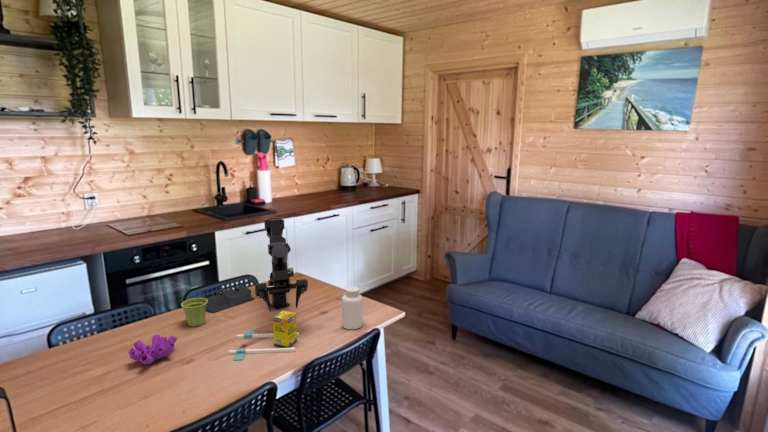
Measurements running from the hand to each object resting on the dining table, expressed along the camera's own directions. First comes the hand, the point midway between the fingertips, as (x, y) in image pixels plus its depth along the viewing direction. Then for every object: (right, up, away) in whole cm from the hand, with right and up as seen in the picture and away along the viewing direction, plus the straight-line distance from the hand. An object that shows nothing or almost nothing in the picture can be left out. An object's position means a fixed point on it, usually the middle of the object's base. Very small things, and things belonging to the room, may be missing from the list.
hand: (283, 309), depth 152 cm
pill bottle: (+24, -9, +12) cm, 28 cm away
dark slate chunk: (-33, -5, +34) cm, 47 cm away
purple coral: (-40, -14, -12) cm, 44 cm away
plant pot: (-37, -8, +13) cm, 40 cm away
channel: (-6, -12, -3) cm, 13 cm away
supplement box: (+1, -12, -2) cm, 12 cm away
